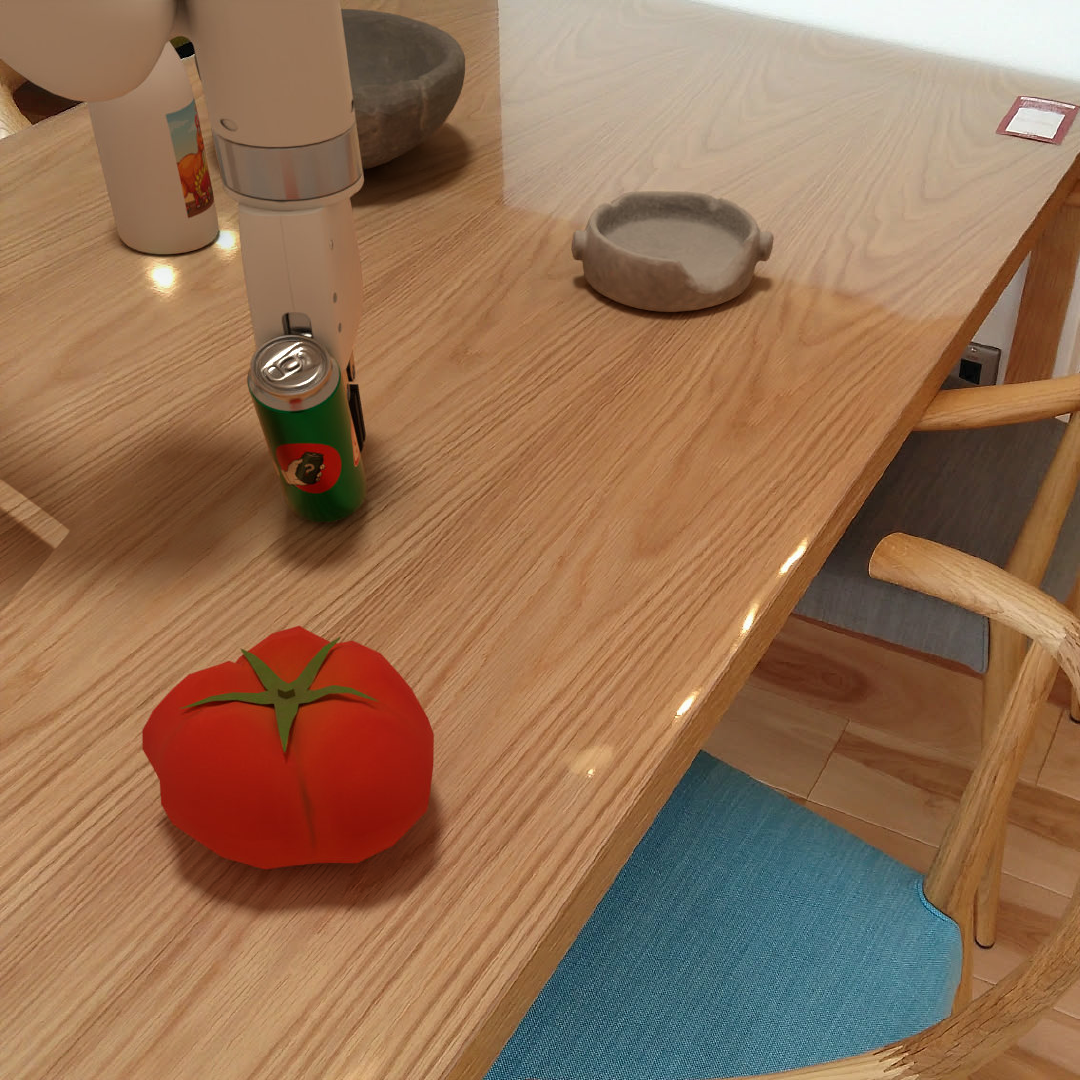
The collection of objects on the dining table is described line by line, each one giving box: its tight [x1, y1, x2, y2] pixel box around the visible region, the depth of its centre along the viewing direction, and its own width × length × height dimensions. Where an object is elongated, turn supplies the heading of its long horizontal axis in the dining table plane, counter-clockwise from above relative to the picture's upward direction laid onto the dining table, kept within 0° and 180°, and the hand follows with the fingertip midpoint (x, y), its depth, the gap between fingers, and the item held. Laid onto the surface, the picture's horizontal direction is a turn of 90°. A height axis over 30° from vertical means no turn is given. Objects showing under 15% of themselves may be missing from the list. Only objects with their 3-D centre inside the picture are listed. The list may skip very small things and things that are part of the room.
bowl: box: [194, 8, 466, 170], centre depth 122 cm, size 23×22×10 cm
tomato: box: [141, 625, 435, 870], centre depth 66 cm, size 14×13×9 cm
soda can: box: [246, 334, 368, 523], centre depth 81 cm, size 5×5×12 cm
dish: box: [571, 190, 775, 313], centre depth 111 cm, size 14×14×5 cm
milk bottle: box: [86, 40, 220, 255], centre depth 104 cm, size 8×8×20 cm
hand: (339, 445), depth 88 cm, fingers closed
